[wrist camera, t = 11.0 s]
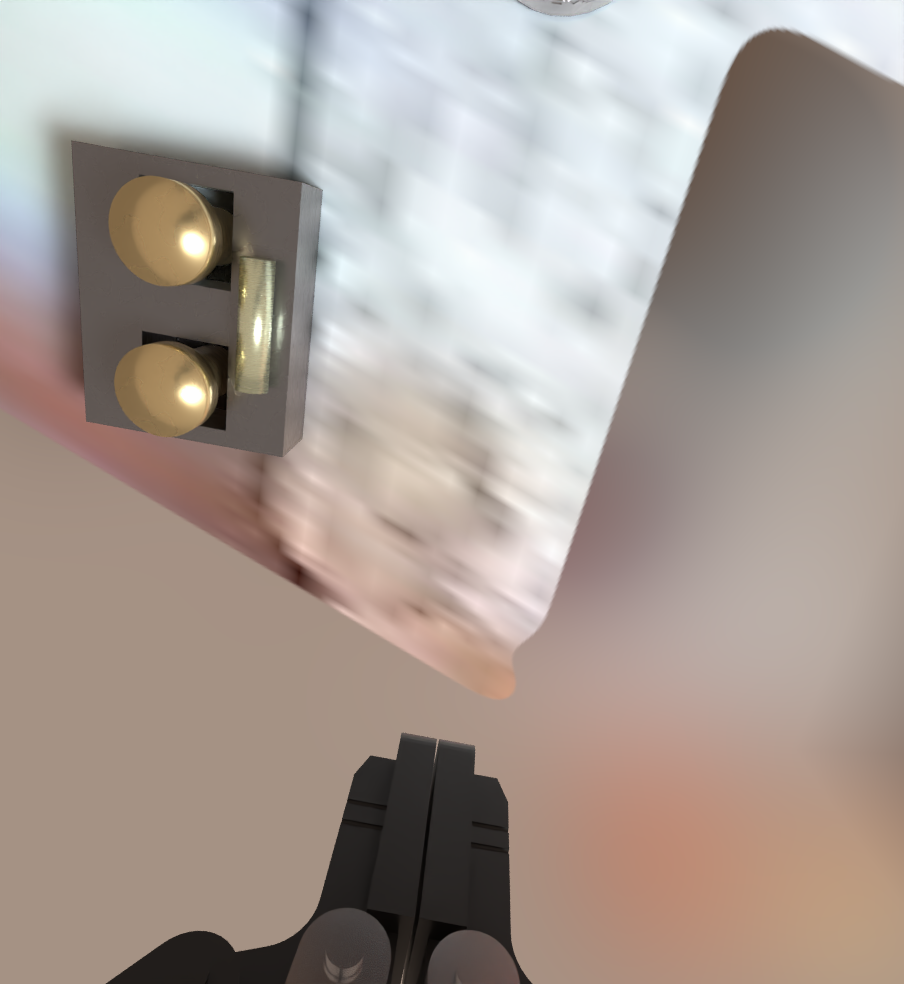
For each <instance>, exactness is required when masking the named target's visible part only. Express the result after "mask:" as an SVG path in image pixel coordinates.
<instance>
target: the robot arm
mask: <svg viewBox="0 0 904 984" xmlns="http://www.w3.org/2000/svg"><path fill="white" fill-rule="evenodd" d="M518 1H520V2H521V3H523V4H524V5H526V6H528V7H529V8H531V9H532V10H535V11H538V12H541V13H545V14H548V15H551V16H575V15H580V14H585V13H589V12H592V11H594V10H596V9H598V8H600V7H602V6H605V5H607V4H609V3H610V2H611V1H612V0H518ZM436 741H437V739H434V738H429V737H424V736H418V735H413V734H407V733H402V734H401V739H400V744H399V749H398V754H397V759H396V760H391V759H387V758H381V757H376V756H370V757H369V758H368V759H367V760H366V762H365V763H364V764H363V765H362V766H361V767H360V768H359V770H358V771H357V772H356V773H355V774H354V778H353V781H352V785H351V789H350V792H349V796H348V800H347V804H346V807H345V810H344V814H343V818H342V822H341V825H340V829H339V832H338V836H337V839H336V843H335V847H334V850H333V854H332V858H331V861H330V865H329V869H328V872H327V876H326V880H325V883H324V887H323V891H322V894H321V898H320V901H319V904H318V907H317V909H316V911H315V913H314V914H313V916H312V917H311V919H310V920H309V922H308V923H307V924H306V925H305V926H304V927H303V928H302V929H301V930H300V931H299V932H297V933H296V934H295V935H294V936H292V937H290V938H288V939H287V940H285V941H282V942H280V943H278V944H275V945H271V946H267V947H262V948H257V949H251V950H245V951H239V952H235V951H234V949H233V947H232V946H231V945H230V944H229V943H228V941H226V940H225V939H224V938H222V937H221V936H219V935H217V934H215V933H211V932H207V931H193V932H187V933H184V934H180V935H178V936H176V937H173V938H171V939H169V940H168V941H166V942H164V943H163V944H161V945H160V946H159V947H157V948H156V949H154V950H153V951H151V952H150V953H149V954H147V955H146V956H144V957H143V958H142V959H140V960H139V961H137V962H136V963H134V964H133V965H132V966H130V967H129V968H128V969H126V970H125V971H123V972H122V973H121V974H119V975H117V976H116V977H115V978H113V979H112V980H110V981H109V982H108V983H106V984H400V983H401V978H402V974H403V980H402V984H532V983H531V982H530V981H529V979H528V978H527V977H526V975H525V974H524V972H523V971H522V970H521V968H520V966H519V964H518V962H517V960H516V957H515V955H514V951H513V947H512V943H511V927H510V926H511V925H510V878H509V877H510V876H509V854H508V851H509V833H508V801H507V799H506V797H505V795H504V793H503V790H502V788H501V786H500V784H499V782H498V779H497V778H491V777H486V776H481V775H475V774H474V764H475V746H474V745H468V744H463V743H457V742H452V741H446V740H441V739H440V740H439V743H438V747H437V753H436V758H435V750H436ZM434 758H435V762H434ZM433 766H434V767H433ZM403 970H404V973H403Z"/></svg>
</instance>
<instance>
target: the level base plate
mask: <svg viewBox="0 0 904 984" xmlns="http://www.w3.org/2000/svg"><path fill="white" fill-rule="evenodd" d="M72 159H73V178H74V197H75V216H76V236H77V255H78V274H79V293H80V312H81V331H82V350H83V369H84V389H85V408H86V421H87V422H92V423H98V424H103V425H109V426H114V427H120V428H125V429H131V430H136V431H142V432H146V431H144V430H142V429H141V428H139V427H138V426H137V425H135V424H134V423H133V422H132V421H131V420H130V419H129V418H128V417H127V415H126V414H125V413H124V411H123V410H122V408H121V406H120V404H119V402H118V400H117V397H116V393H115V387H114V377H115V372H116V369H117V366H118V364H119V362H120V361H121V359H122V358H123V357H124V356H125V355H126V354H127V353H128V352H129V351H131V350H132V349H134V348H137V347H140V346H143V345H147V344H151V343H155V342H159V341H175V342H176V337H179V338H185V339H190V340H196V341H201V342H207V343H212V344H218V345H223V346H229V353H228V382H227V410H223V409H217V408H215V410H214V412H213V413H212V415H211V416H210V418H209V419H208V420H207V421H205V422H204V423H203V424H201V425H199V426H198V427H196V428H194V429H193V430H191V431H189V432H187V433H185V434H183V435H180V436H175V438H180V439H186V440H191V441H197V442H202V443H208V444H213V445H219V446H224V447H230V448H235V449H241V450H246V451H252V452H257V453H263V454H268V455H274V456H279V457H283V456H284V455H285V454H287V453H288V452H289V451H290V450H291V449H292V448H293V447H294V446H295V445H296V444H297V443H298V442H299V441H300V440H301V439H302V435H303V423H304V411H305V399H306V386H307V374H308V362H309V350H310V338H311V325H312V313H313V301H314V289H315V276H316V264H317V252H318V240H319V227H320V215H321V203H322V191H323V190H321V189H318V188H316V187H313V186H310V185H308V184H305V183H302V182H297V181H292V180H286V179H281V178H275V177H270V176H264V175H259V174H253V173H248V172H242V171H237V170H231V169H225V168H220V167H214V166H209V165H203V164H198V163H192V162H187V161H181V160H176V159H170V158H165V157H159V156H154V155H148V154H143V153H137V152H131V151H126V150H120V149H115V148H109V147H104V146H98V145H93V144H87V143H82V142H76V141H72ZM142 176H159V177H163V178H167V179H172V180H176V181H180V182H183V183H185V184H188V185H191V186H197V187H202V188H208V189H213V190H219V191H224V192H230V193H234V206H233V235H232V265H231V283H227V282H222V281H216V280H211V279H205V278H204V279H203V280H201V281H199V282H196V283H193V284H189V285H180V286H158V285H154V284H151V283H148V282H146V281H144V280H142V279H140V278H139V277H138V276H136V275H135V274H134V273H132V272H131V271H130V270H129V269H128V268H127V267H126V266H125V265H124V263H123V262H122V261H121V259H120V258H119V256H118V254H117V253H116V251H115V248H114V246H113V244H112V240H111V237H110V232H109V211H110V207H111V204H112V201H113V199H114V197H115V195H116V194H117V192H118V191H119V190H120V189H121V187H122V186H124V185H125V184H126V183H127V182H129V181H131V180H133V179H135V178H138V177H142ZM147 433H148V432H147Z"/></svg>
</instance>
